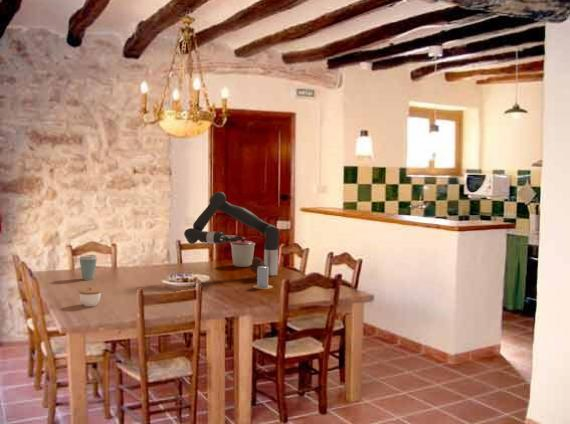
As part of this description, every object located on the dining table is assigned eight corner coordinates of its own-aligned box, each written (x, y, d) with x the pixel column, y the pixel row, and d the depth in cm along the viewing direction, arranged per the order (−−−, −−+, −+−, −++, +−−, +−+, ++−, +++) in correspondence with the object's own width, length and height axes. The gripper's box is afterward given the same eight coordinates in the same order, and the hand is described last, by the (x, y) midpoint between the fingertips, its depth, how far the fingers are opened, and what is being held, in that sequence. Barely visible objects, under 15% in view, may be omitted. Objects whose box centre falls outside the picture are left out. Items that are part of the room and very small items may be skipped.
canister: (260, 266, 437) (260, 237, 435) (241, 269, 423) (242, 239, 422) (243, 263, 449) (243, 235, 447) (224, 265, 436) (225, 236, 434)
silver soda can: (259, 285, 367) (259, 265, 366) (269, 286, 365) (269, 266, 364) (256, 287, 361) (256, 267, 360) (265, 288, 359) (266, 268, 358)
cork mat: (256, 284, 371) (256, 284, 371) (275, 286, 367) (275, 285, 367) (250, 288, 359) (250, 287, 359) (269, 290, 356) (269, 289, 356)
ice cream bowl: (264, 282, 379) (265, 258, 378) (247, 281, 381) (248, 257, 380) (268, 279, 389) (269, 256, 388) (251, 278, 391) (252, 255, 390)
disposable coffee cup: (78, 280, 370) (78, 256, 369) (80, 277, 381) (80, 254, 379) (96, 280, 372) (96, 256, 371) (97, 277, 383) (97, 253, 382)
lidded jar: (82, 302, 315) (82, 285, 314) (103, 302, 316) (103, 285, 315) (76, 307, 305) (76, 289, 304) (98, 307, 305) (98, 289, 305)
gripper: (210, 232, 367) (235, 234, 363) (219, 230, 381) (243, 231, 376) (210, 245, 368) (235, 246, 363) (219, 242, 381) (243, 243, 377)
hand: (239, 239), depth 370 cm, fingers open, 8 cm apart
